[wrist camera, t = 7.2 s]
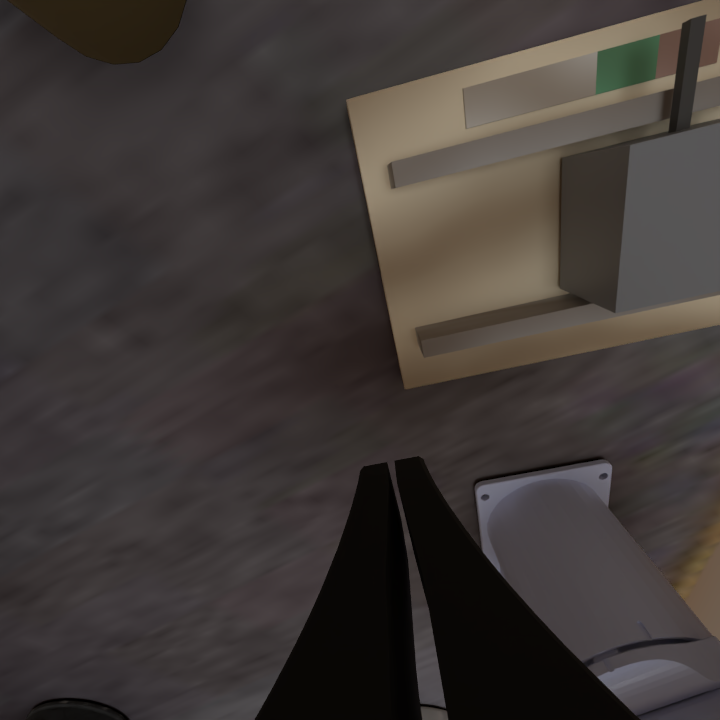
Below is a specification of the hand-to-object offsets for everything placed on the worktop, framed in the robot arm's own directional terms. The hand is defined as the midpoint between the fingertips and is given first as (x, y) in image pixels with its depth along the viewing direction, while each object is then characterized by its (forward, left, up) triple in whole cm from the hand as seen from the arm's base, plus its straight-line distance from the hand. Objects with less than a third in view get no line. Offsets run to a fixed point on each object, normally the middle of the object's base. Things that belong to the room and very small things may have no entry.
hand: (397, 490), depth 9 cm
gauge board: (+4, -10, -9) cm, 15 cm away
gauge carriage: (+5, -11, -8) cm, 14 cm away
